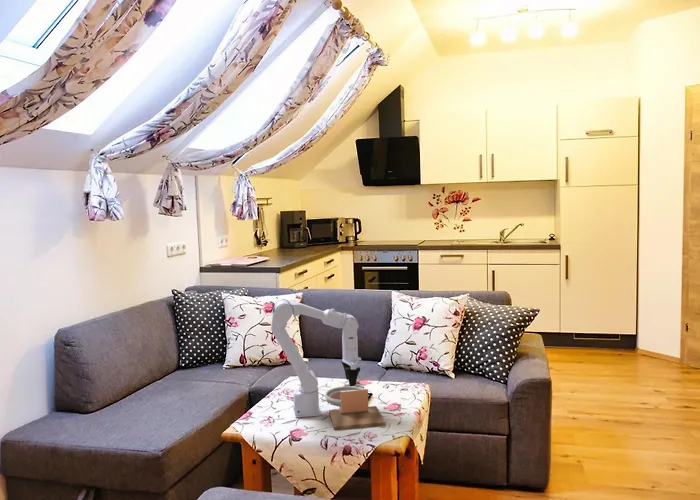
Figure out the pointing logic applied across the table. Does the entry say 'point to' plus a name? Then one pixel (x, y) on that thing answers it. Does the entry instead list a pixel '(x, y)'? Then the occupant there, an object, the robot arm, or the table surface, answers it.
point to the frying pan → (335, 393)
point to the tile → (354, 401)
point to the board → (356, 419)
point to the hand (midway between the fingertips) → (350, 382)
